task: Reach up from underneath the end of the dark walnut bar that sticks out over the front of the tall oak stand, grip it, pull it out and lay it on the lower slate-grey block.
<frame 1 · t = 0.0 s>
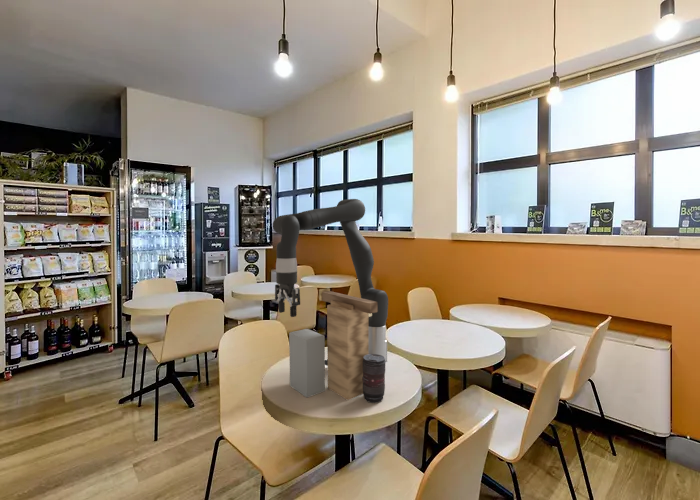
hand: (287, 314, 126), 29 cm above the table, tool pointing down, fingers open, 8 cm apart
walnut bar: (345, 305, 128), point 32 cm above the table, touching oak stand
camera lens: (373, 398, 123), on the table
oak stand: (347, 389, 129), on the table
grey block: (307, 388, 131), on the table
cell phone: (333, 362, 158), on the table
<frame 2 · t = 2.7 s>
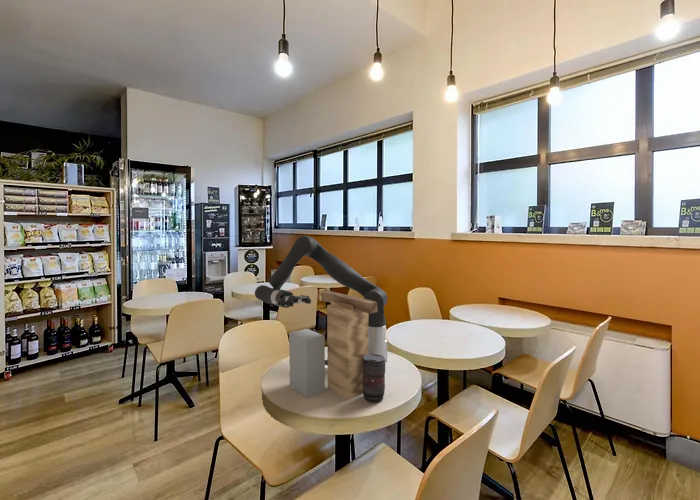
hand: (301, 302, 143), 30 cm above the table, tool horizontal, fingers open, 8 cm apart
nothing on the table moved.
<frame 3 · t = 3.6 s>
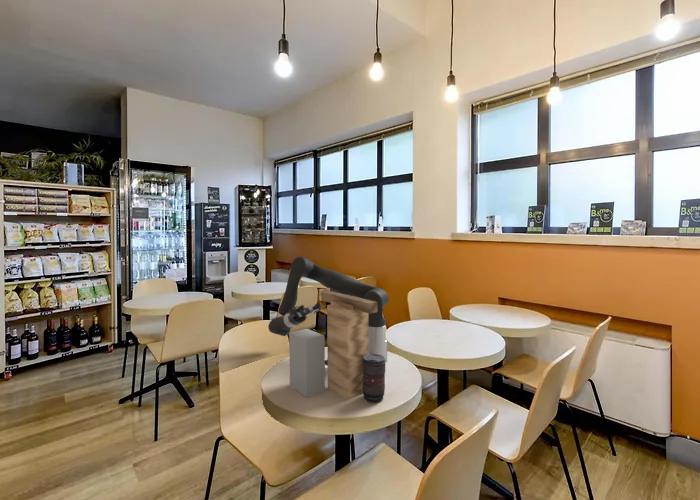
hand: (312, 305, 145), 28 cm above the table, tool pointing upward, fingers open, 8 cm apart
nothing on the table moved.
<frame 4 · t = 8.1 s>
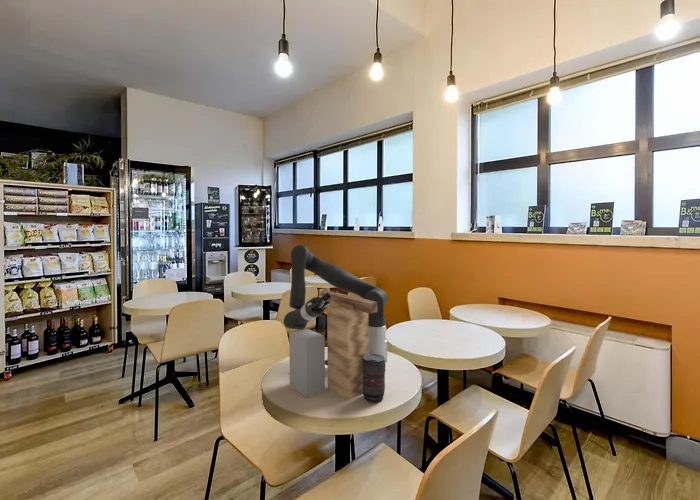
hand: (333, 294, 134), 35 cm above the table, tool pointing upward, fingers closed on walnut bar, 3 cm apart
walnut bar: (345, 305, 128), point 32 cm above the table, touching gripper, oak stand
everything else where it was.
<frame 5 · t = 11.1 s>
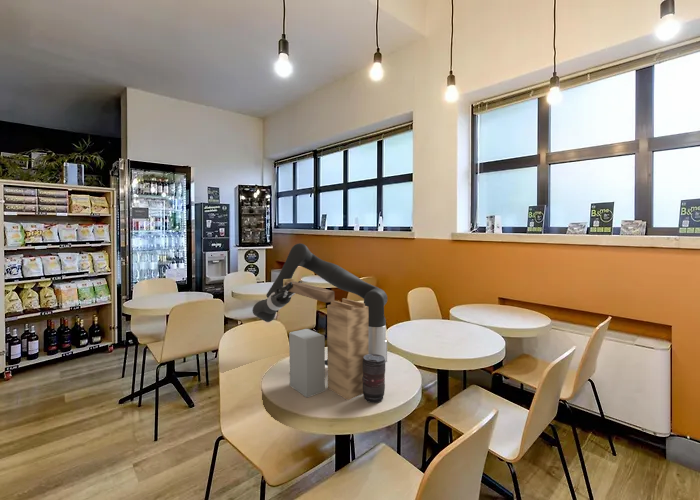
hand: (296, 283, 135), 39 cm above the table, tool pointing upward, fingers closed on walnut bar, 3 cm apart
walnut bar: (306, 295, 129), point 36 cm above the table, touching gripper
everything else where it was.
when the fingers open (26 cm above the table, at t = 14.5 s): walnut bar drops 1 cm, resting on grey block.
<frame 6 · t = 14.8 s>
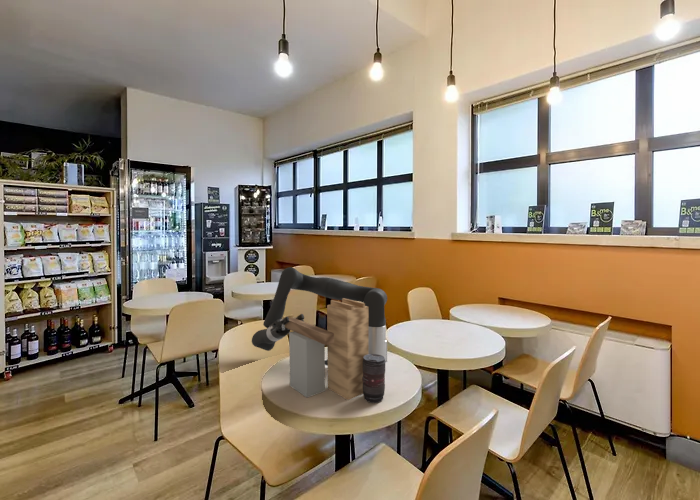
hand: (295, 317, 135), 26 cm above the table, tool pointing upward, fingers open, 6 cm apart
walnut bar: (306, 334, 129), point 21 cm above the table, touching grey block
everything else where it was.
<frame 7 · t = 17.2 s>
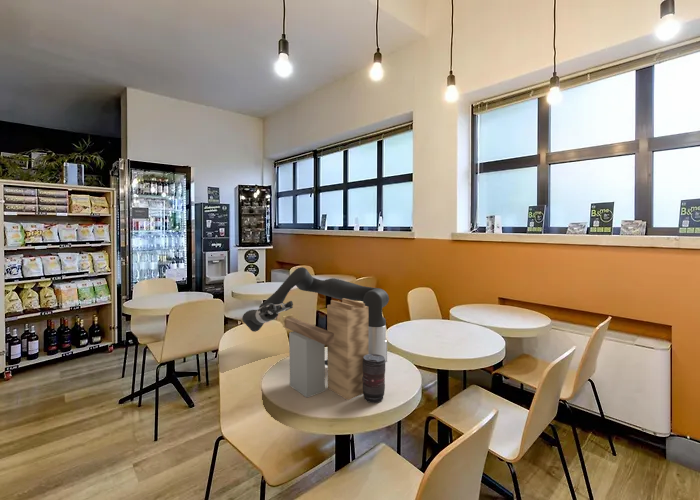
hand: (282, 304, 144), 29 cm above the table, tool pointing upward, fingers open, 8 cm apart
nothing on the table moved.
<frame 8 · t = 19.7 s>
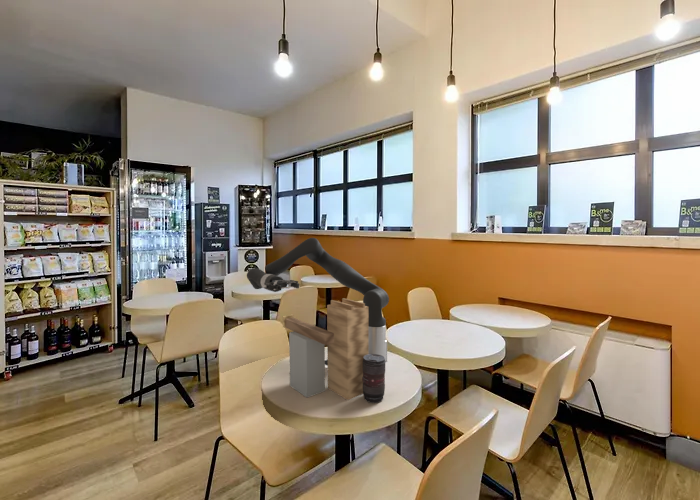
hand: (289, 287, 146), 36 cm above the table, tool horizontal, fingers open, 8 cm apart
nothing on the table moved.
at the end: walnut bar inside the target area on the grey block (0.1 cm from its centre), point 21.0 cm above the grey block's base; the gripper is holding nothing; walnut bar moved 18.6 cm from its start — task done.
